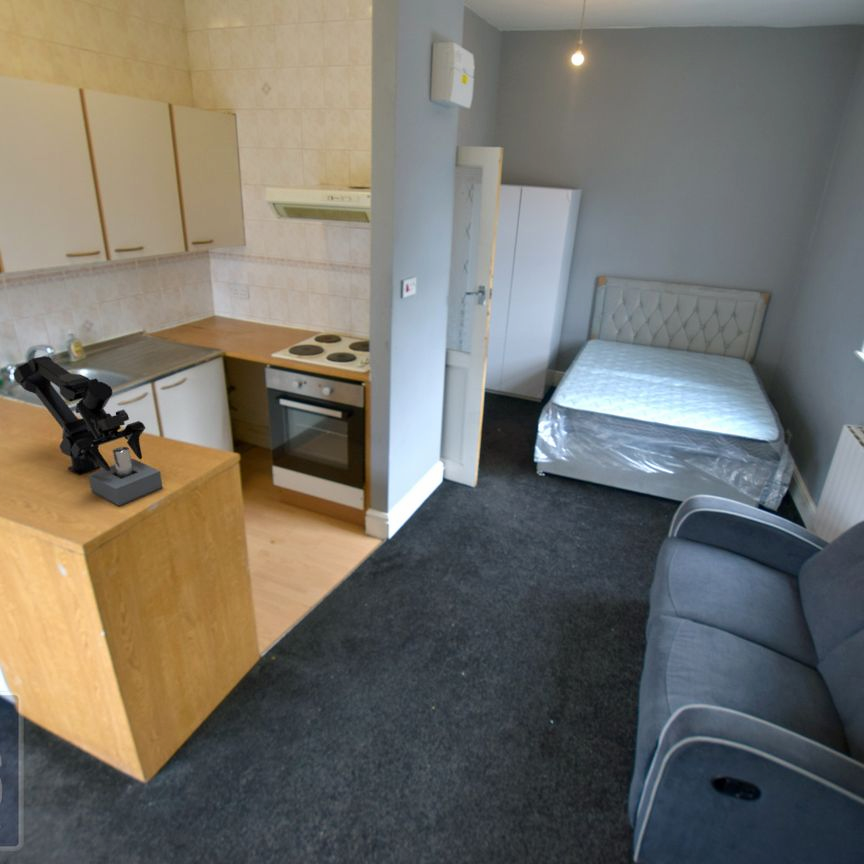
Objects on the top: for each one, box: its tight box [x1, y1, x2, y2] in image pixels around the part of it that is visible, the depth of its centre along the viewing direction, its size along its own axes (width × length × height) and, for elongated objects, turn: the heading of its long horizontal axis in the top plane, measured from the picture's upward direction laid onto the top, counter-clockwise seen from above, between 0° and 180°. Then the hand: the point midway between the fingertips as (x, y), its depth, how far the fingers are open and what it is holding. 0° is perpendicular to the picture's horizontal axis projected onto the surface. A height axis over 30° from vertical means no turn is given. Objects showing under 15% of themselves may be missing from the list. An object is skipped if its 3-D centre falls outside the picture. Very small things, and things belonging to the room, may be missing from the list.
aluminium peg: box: [112, 446, 133, 479], centre depth 160 cm, size 4×4×12 cm
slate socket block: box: [88, 458, 163, 508], centre depth 162 cm, size 13×13×6 cm
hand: (125, 464), depth 159 cm, fingers open, 9 cm apart
